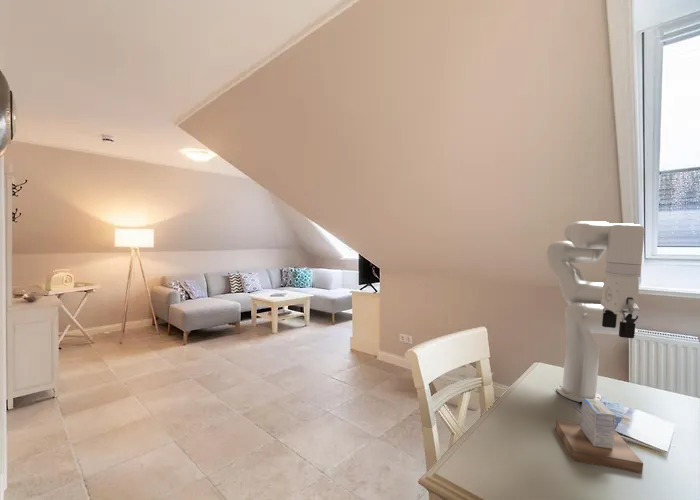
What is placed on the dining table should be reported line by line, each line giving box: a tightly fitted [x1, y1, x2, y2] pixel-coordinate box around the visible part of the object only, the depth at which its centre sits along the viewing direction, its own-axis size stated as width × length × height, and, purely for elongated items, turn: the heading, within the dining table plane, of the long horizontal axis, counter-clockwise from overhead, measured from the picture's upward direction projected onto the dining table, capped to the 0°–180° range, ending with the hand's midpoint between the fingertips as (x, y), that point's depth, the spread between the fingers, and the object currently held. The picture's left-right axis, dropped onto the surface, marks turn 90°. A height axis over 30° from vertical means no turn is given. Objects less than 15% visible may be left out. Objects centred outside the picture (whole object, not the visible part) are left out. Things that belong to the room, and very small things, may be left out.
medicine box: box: [579, 399, 616, 449], centre depth 88 cm, size 8×4×9 cm, turn 167°
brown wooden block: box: [555, 419, 644, 474], centre depth 88 cm, size 14×14×2 cm
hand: (617, 332), depth 94 cm, fingers open, 9 cm apart
